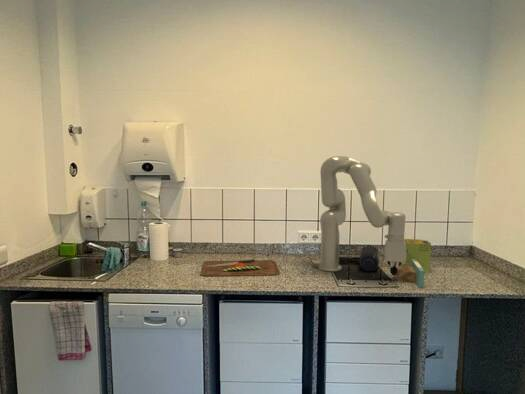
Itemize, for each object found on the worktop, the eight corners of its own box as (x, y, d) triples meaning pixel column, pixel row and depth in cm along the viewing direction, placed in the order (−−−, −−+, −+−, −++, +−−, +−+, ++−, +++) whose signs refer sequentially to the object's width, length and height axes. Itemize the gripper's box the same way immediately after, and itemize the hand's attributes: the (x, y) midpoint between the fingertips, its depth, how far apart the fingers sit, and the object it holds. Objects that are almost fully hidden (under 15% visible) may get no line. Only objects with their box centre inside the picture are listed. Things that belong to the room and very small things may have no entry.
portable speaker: (378, 274, 204) (379, 255, 203) (358, 272, 207) (359, 253, 206) (378, 261, 228) (379, 244, 227) (361, 260, 231) (361, 243, 230)
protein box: (429, 273, 207) (431, 243, 205) (398, 271, 210) (400, 242, 208) (425, 267, 217) (427, 239, 215) (396, 265, 220) (397, 238, 218)
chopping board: (194, 278, 196) (194, 272, 196) (199, 263, 223) (199, 257, 222) (285, 276, 200) (285, 270, 199) (278, 262, 226) (278, 257, 226)
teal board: (419, 287, 183) (420, 270, 183) (410, 274, 203) (411, 259, 202) (423, 287, 183) (424, 270, 182) (414, 274, 203) (415, 259, 202)
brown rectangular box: (398, 281, 192) (398, 271, 191) (395, 275, 202) (395, 265, 201) (415, 282, 191) (416, 272, 190) (411, 276, 200) (412, 266, 200)
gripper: (380, 238, 190) (378, 275, 192) (413, 240, 188) (410, 278, 190) (379, 235, 198) (376, 271, 200) (410, 237, 195) (407, 273, 197)
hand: (393, 274), depth 195 cm, fingers closed
